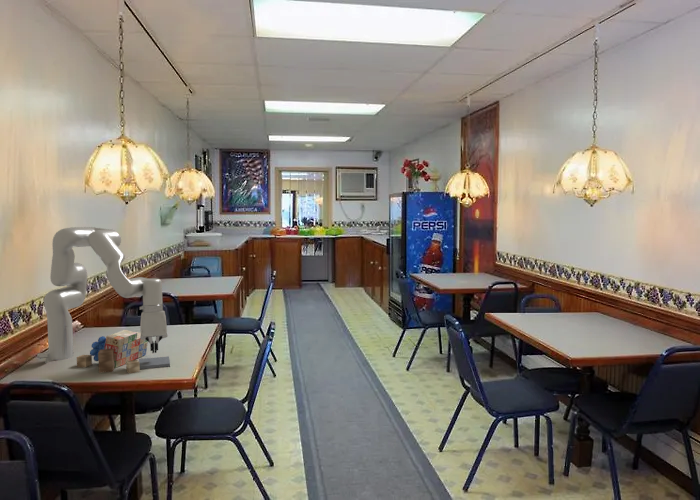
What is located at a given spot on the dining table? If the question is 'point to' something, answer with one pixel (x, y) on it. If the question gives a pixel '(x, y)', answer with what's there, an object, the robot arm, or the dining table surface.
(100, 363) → the walnut block
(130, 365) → the maple cube
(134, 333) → the stack of blocks
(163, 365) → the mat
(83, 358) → the oak cube
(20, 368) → the dining table surface
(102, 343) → the grapes
